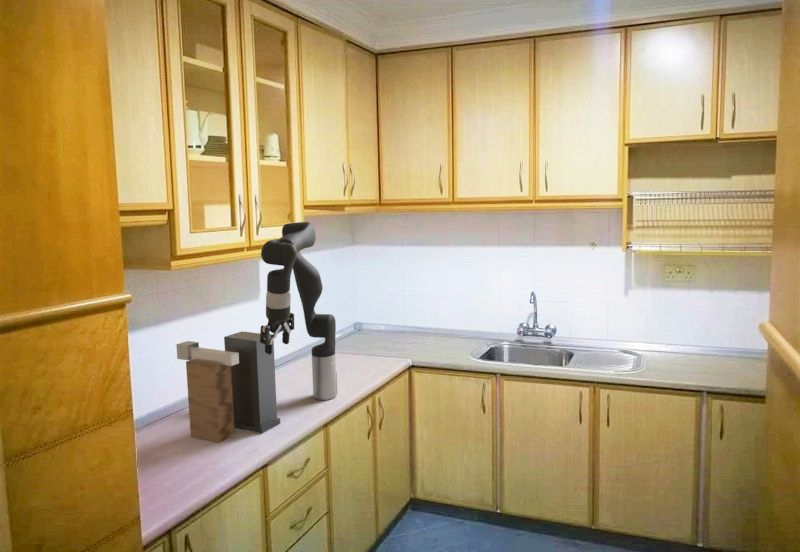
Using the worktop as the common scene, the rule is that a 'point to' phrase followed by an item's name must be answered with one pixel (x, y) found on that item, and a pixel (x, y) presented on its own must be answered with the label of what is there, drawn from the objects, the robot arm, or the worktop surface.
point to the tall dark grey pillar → (253, 383)
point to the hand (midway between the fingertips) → (277, 348)
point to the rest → (210, 401)
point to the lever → (205, 354)
